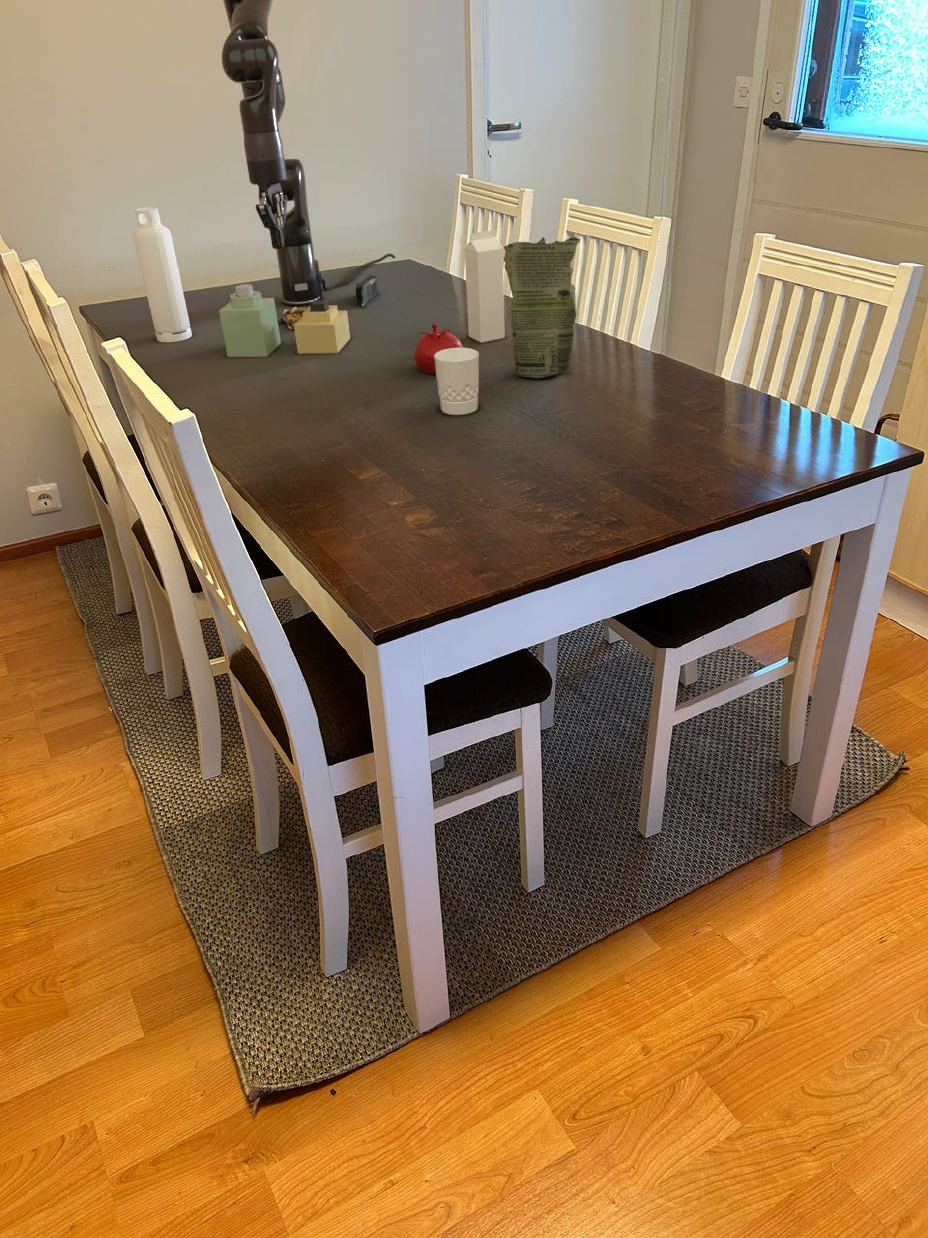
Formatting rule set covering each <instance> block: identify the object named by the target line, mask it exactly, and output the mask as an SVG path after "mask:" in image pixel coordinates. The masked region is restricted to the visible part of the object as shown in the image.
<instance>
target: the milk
mask: <svg viewBox="0 0 928 1238" xmlns="http://www.w3.org/2000/svg"><path fill="white" fill-rule="evenodd" d="M496 234H497V233H496V230H495V229H491V230H485V231H484V230H483V231H478V232H471V233H470V235H469V242H468V243H467V244H466V245H465V246H464V259H465V260H464V261H465V281H466V282H465V283H466V305H467V322H468V323H467V325H468V338H469V337H470V338H471V339H473V340H475V341H477V342H478V343H480V344H481V343H482V344H483V343H487V342H491V341H497V340H502V339H505V301H504V300H505V299H504V297H505V295H504V257H503V255H504V253H503V246H502V245H501V243H500V242H499V241H498V239H497V235H496Z"/></svg>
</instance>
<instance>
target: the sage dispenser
mask: <svg viewBox="0 0 928 1238" xmlns="http://www.w3.org/2000/svg"><path fill="white" fill-rule="evenodd" d="M253 293H254V295H252V296H248V297H237V294H236V292H234V293H231V294H230V295H229V302H228V303H227V304H226V305H224V306H223V307H221V308H220V309H219V310H218V314H219V319H220V323H221V328H222V329H221V330H222V335H223V339H224V345H225V350H226V355H227V356H226V357H227V358H247V357H248V358H254V357H255V358H259V357H261V358H264V357H266V358H267V357H269V355H270V354H271V353H273V352H274V351H275V350H276V348H278V347H279V346H280V345H281V344H282V341H281V340H282V339H281V334H280V328H279V322H278V321H279V320H278V315H277V308H276V302H275V298H274V297H262V293H261V292H260V291H258V290H253Z"/></svg>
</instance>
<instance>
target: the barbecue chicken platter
mask: <svg viewBox="0 0 928 1238" xmlns="http://www.w3.org/2000/svg"><path fill="white" fill-rule="evenodd" d="M306 309H307V307H304V306H302V307H299V308H298V307H296V306H294V307H293V308H291V309H286V308H284V309H283V312H282V314H281V317H282V318H279V319H278V321H279V322H280V324H282V323H283V322H286V324H287V328H289V330H291V329H293V330H294V324H295V323H296V322H297V321H299V320H300V319H301V318H302V317H303V315H302V313H303V312H304V311H305V310H306ZM279 322H278V323H279Z"/></svg>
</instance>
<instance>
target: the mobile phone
mask: <svg viewBox="0 0 928 1238" xmlns="http://www.w3.org/2000/svg"><path fill="white" fill-rule="evenodd" d="M377 294H378V282H377V278H376V276H375V275H367V277H364V279H362V280H360V281H359V282H357V283H356V284H355V297H356V303H357V304H360V307H361V308H363V307H364V306H365V305H366V304H367V303H369V302H370V301H371V300H372V299H373V298H374V297H376V296H377Z"/></svg>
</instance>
